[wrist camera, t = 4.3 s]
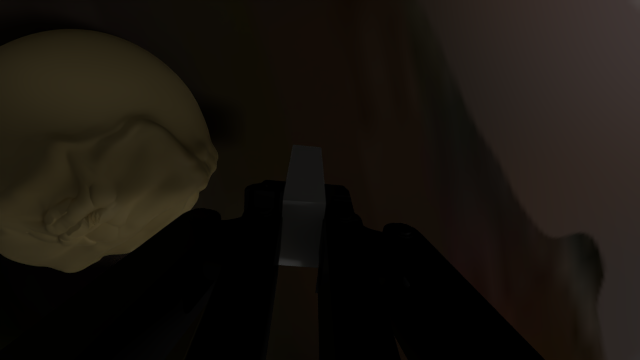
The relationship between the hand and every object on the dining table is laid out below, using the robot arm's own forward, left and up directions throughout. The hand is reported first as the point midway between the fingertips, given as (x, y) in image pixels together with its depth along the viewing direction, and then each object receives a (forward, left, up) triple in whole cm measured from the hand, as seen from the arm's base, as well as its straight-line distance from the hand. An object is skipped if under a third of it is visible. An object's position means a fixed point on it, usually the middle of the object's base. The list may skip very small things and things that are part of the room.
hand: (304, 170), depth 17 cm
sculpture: (0, +12, -7) cm, 13 cm away
